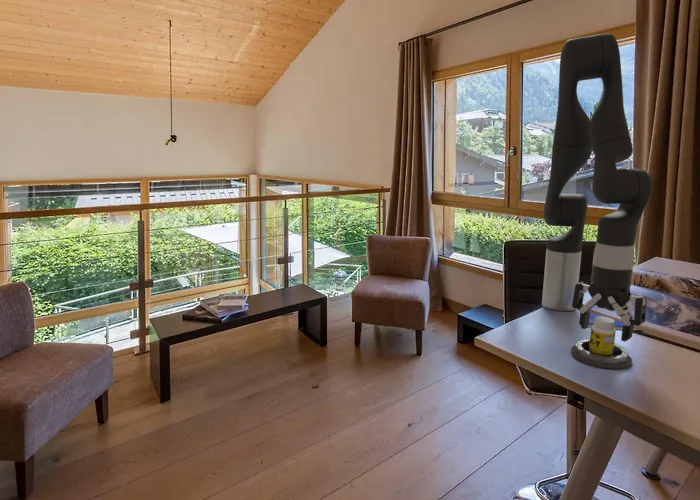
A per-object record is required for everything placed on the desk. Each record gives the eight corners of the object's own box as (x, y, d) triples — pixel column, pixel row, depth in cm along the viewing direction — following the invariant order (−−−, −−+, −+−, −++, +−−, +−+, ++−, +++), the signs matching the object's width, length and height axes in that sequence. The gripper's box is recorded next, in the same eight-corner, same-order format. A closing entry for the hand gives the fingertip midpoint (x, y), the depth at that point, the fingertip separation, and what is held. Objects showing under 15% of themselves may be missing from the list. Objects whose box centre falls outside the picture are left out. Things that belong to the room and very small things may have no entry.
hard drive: (589, 323, 118) (642, 327, 115) (581, 312, 125) (631, 316, 122) (588, 329, 118) (642, 333, 115) (581, 317, 126) (630, 321, 123)
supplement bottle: (584, 350, 103) (587, 315, 101) (603, 349, 103) (607, 314, 101) (596, 359, 98) (601, 323, 96) (617, 358, 99) (621, 322, 97)
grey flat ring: (563, 344, 107) (564, 336, 107) (617, 347, 106) (618, 338, 105) (581, 368, 96) (582, 359, 95) (642, 371, 94) (643, 362, 94)
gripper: (570, 260, 99) (564, 328, 103) (642, 273, 88) (632, 349, 92) (587, 254, 104) (580, 320, 107) (657, 267, 93) (646, 340, 96)
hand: (604, 334), depth 100 cm, fingers open, 8 cm apart
